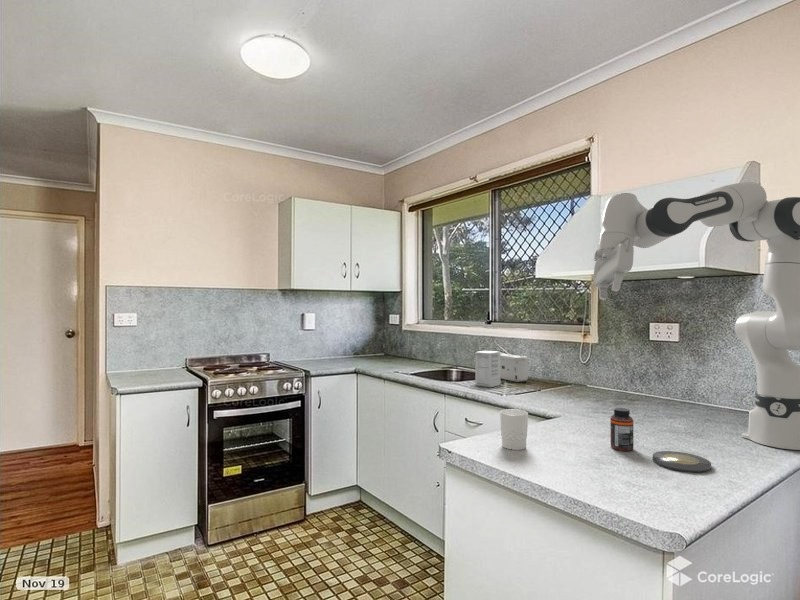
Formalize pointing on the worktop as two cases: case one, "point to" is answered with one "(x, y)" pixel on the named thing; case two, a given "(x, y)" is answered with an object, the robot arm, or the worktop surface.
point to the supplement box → (487, 368)
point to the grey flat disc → (681, 461)
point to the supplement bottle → (621, 430)
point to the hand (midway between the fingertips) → (608, 295)
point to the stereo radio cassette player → (513, 367)
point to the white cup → (514, 428)
